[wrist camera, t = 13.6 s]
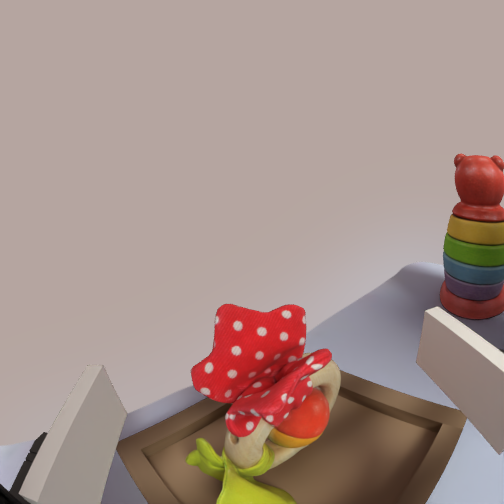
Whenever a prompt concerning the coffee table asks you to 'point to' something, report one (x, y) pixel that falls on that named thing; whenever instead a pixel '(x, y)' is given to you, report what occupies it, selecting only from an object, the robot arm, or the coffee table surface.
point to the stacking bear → (475, 240)
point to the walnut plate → (311, 451)
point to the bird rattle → (262, 398)
